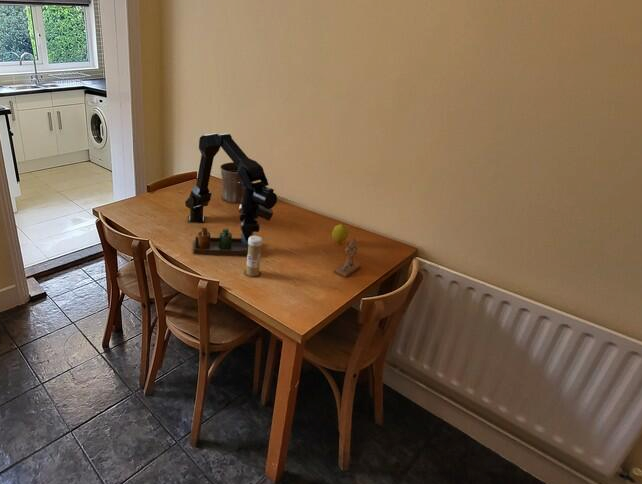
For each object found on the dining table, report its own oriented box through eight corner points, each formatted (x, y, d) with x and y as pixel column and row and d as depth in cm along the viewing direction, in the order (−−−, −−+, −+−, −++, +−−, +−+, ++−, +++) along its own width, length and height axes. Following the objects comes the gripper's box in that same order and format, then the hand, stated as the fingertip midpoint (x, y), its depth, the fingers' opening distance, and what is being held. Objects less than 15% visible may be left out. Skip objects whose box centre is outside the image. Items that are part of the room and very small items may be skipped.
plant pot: (254, 204, 195) (257, 172, 188) (220, 204, 195) (221, 172, 188) (249, 192, 209) (251, 162, 202) (217, 192, 210) (218, 162, 203)
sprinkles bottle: (243, 273, 139) (245, 238, 134) (250, 268, 143) (253, 233, 137) (255, 278, 137) (258, 242, 131) (261, 272, 140) (265, 237, 134)
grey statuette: (348, 263, 145) (354, 233, 140) (359, 267, 142) (365, 237, 137) (335, 272, 140) (341, 241, 135) (346, 277, 137) (352, 245, 132)
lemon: (345, 240, 161) (349, 222, 157) (346, 247, 156) (349, 228, 153) (330, 238, 162) (334, 220, 159) (330, 245, 158) (334, 226, 154)
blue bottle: (240, 240, 156) (241, 221, 153) (252, 240, 156) (253, 221, 152) (241, 245, 152) (242, 226, 149) (253, 245, 152) (254, 226, 148)
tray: (195, 241, 161) (195, 236, 160) (254, 243, 159) (255, 238, 158) (193, 253, 152) (193, 249, 151) (257, 256, 150) (257, 251, 149)
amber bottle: (198, 243, 158) (198, 226, 155) (210, 243, 158) (210, 226, 155) (197, 249, 154) (198, 231, 151) (209, 249, 154) (210, 231, 151)
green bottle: (219, 244, 158) (219, 226, 155) (231, 244, 157) (232, 227, 154) (219, 249, 154) (219, 232, 150) (231, 250, 153) (232, 232, 150)
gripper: (276, 210, 137) (271, 251, 144) (269, 190, 154) (266, 228, 161) (242, 209, 138) (239, 249, 145) (240, 190, 155) (237, 227, 162)
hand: (247, 238), depth 153 cm, fingers closed on blue bottle, 4 cm apart
